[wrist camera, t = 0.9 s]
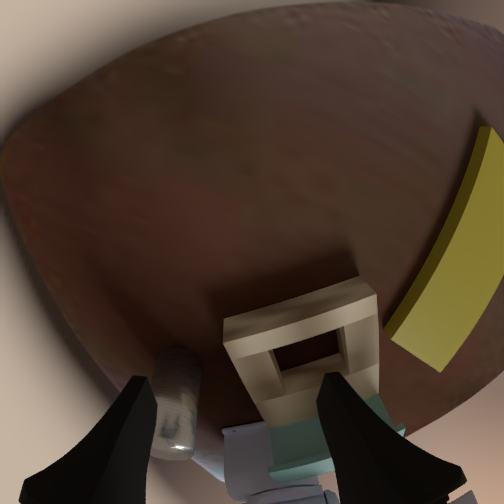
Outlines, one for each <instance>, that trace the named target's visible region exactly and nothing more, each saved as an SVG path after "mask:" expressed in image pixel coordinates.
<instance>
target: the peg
mask: <svg viewBox="0 0 504 504" xmlns="http://www.w3.org/2000/svg"><path fill="white" fill-rule="evenodd" d="M201 373H202V362H201V360H200V358H199V357H198V356H197V355H196V354H195V353H193V352H192V351H190V350H188V349H185V348H181V347H170V348H167V349H165V350H163V351H162V352H161V353H160V354H159V357H158V360H157V363H156V367H155V370H154V373H153V376H152V380H151V383H150V386H151V389H152V391H153V394H154V396H155V399H156V401H157V404H158V408H157V420H156V428H155V432H154V437H153V442H152V447H151V452H150V455H151V456H154V457H157V458H160V459H164V460H171V461H182V460H187V459H190V458H191V457H192V456H193V453H194V442H195V431H196V420H197V410H198V400H199V391H200V382H201Z"/></svg>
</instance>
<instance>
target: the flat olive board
mask: <svg viewBox="0 0 504 504" xmlns="http://www.w3.org/2000/svg"><path fill="white" fill-rule="evenodd" d="M503 275H504V143H503V142H502V140H501V139H500V138H499V136H498V135H497V133H496V132H495V131H494V129H493V128H492V127H485V126H480V128H479V131H478V135H477V139H476V142H475V145H474V149H473V152H472V155H471V158H470V161H469V164H468V167H467V170H466V173H465V176H464V178H463V181H462V184H461V186H460V189H459V191H458V194H457V196H456V199H455V201H454V204H453V206H452V208H451V211H450V213H449V215H448V217H447V219H446V222H445V224H444V226H443V228H442V230H441V232H440V234H439V236H438V238H437V240H436V242H435V244H434V246H433V248H432V250H431V252H430V254H429V256H428V258H427V260H426V261H425V263H424V265H423V267H422V269H421V270H420V272H419V274H418V276H417V277H416V279H415V281H414V282H413V284H412V286H411V287H410V289H409V291H408V292H407V294H406V295H405V297H404V299H403V300H402V302H401V303H400V305H399V306H398V308H397V310H396V311H395V313H394V314H393V315H392V317H391V318H390V320H389V321H388V323H387V324H386V326H385V327H384V331H385V332H386V333H387V335H388V336H389V337H390V339H391V340H393V341H394V342H396V343H397V344H399V345H400V346H402V347H403V348H405V349H406V350H408V351H409V352H411V353H412V354H414V355H415V356H416V357H418V358H419V359H421V360H422V361H424V362H425V363H427V364H428V365H430V366H431V367H433V368H434V369H436V370H437V371H439V372H441V371H442V370H443V369H444V367H445V366H446V365H447V364H448V362H449V361H450V360H451V358H452V357H453V356H454V355H455V353H456V352H457V351H458V349H459V348H460V346H461V345H462V344H463V342H464V341H465V339H466V338H467V336H468V335H469V334H470V332H471V331H472V329H473V328H474V326H475V324H476V323H477V321H478V320H479V318H480V317H481V315H482V313H483V312H484V310H485V308H486V307H487V305H488V303H489V301H490V300H491V298H492V296H493V294H494V292H495V291H496V289H497V287H498V285H499V283H500V281H501V279H502V277H503Z"/></svg>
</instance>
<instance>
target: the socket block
mask: <svg viewBox="0 0 504 504" xmlns="http://www.w3.org/2000/svg"><path fill="white" fill-rule="evenodd" d="M334 329H336V334H337V340H338V346H339V353H337V354H334V355H331V356H328V357H325V358H322V359H319V360H316V361H313V362H310V363H307V364H304V365H301V366H297V367H294V368H291V369H287V370H284V371H280V368H279V366H278V363H277V360H276V358H275V355H274V352H273V349H275V348H278V347H282V346H285V345H288V344H292V343H295V342H298V341H301V340H304V339H308V338H311V337H314V336H317V335H320V334H323V333H326V332H328V331H331V330H334ZM223 344H224V346H225V348H226V350H227V352H228V354H229V356H230V358H231V360H232V362H233V364H234V366H235V368H236V370H237V372H238V374H239V376H240V378H241V380H242V381H243V383H244V385H245V387H246V389H247V391H248V393H249V394H250V396H251V398H252V400H253V402H254V403H255V405H256V407H257V409H258V411H259V412H260V414H261V416H262V418H263V419H264V421H265V423H266V425H267V426H268V428H269V429H273V428H277V427H282V426H286V425H290V424H293V423H297V422H301V421H304V420H308V419H311V418H315V417H318V416H319V415H318V410H317V404H316V400H317V397H318V394H319V390H320V387H321V384H322V381H323V378H324V374H325V373H330V372H337V371H339V372H340V373H341V374H342V376H343V377H344V378H345V379H346V380H347V382H348V383H349V384H350V385H351V386H352V388H353V389H354V390H355V391H356V392H357V393H358V395H359V396H360V397H361V398H362V399H363V400H366V399H368V398H371V397H373V396H376V395H378V387H379V332H378V311H377V296H376V293H375V292H374V291H373V290H372V288H371V287H370V286H369V285H368V284H367V283H366V282H365V281H364V280H363V279H362V278H361V276H357V277H354V278H351V279H348V280H346V281H343V282H340V283H337V284H334V285H331V286H328V287H325V288H322V289H319V290H316V291H313V292H310V293H307V294H304V295H301V296H298V297H295V298H292V299H289V300H286V301H282V302H279V303H276V304H273V305H269V306H266V307H263V308H259V309H256V310H253V311H249V312H246V313H242V314H239V315H235V316H232V317H228V318H224V328H223Z"/></svg>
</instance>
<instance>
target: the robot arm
mask: <svg viewBox="0 0 504 504" xmlns="http://www.w3.org/2000/svg"><path fill="white" fill-rule="evenodd" d="M316 404H317V410H318V415H319V420H320V424H321V427H322V430H323V433H324V436H325V439H326V442H327V445H328V448H329V452H330V455H331V458H332V461H333V464H334V468H335V473H336V478H337V484H338V490H339V497H340V504H447V501H448V500H449V496H448V494H449V493H451V492H453V491H454V490H456V489H457V488H459V487H460V486H462V485H463V484H465V483H466V482H467V479H466V477H465V475H464V473H463V471H462V469H461V467H460V466H458V465H455V464H452V463H449V462H447V461H443V460H442V459H439V458H437V457H435V456H433V455H431V454H429V453H428V452H426V451H424V450H422V449H421V448H419V447H417V446H415V445H414V444H412V443H411V442H410V441H408V440H407V439H405V438H404V437H402V436H401V435H400V434H399V433H397V432H396V431H395V430H394V429H392V428H391V427H390V426H389V425H388V424H387V423H386V422H384V421H383V420H382V419H381V418H380V417H379V416H378V415H377V414H376V413H375V412H374V411H373V410H372V409H371V408H370V407H369V406H368V405H367V403H366V402H365V401H364V400H363V399H362V398H361V397H360V396H359V395H358V393H357V392H356V391H355V390H354V389H353V388H352V386H351V385H350V384H349V383H348V382H347V380H346V379H345V378H344V377H343V376H342V374H341V373H340V372H339V371H337V372H330V373H325V374H324V378H323V381H322V384H321V387H320V390H319V394H318V397H317V400H316ZM157 408H158V404H157V401H156V399H155V396H154V394H153V391H152V389H151V386H150V384H149V381H148V378H147V377H145V376H135V375H133V376H132V377H131V379H130V380H129V381H128V383H127V384H126V386H125V387H124V389H123V390H122V392H121V393H120V394H119V396H118V397H117V399H116V400H115V401H114V403H113V404H112V405H111V407H110V408H109V409H108V410H107V412H106V413H105V415H104V416H103V417H102V418H101V419H100V420H99V422H98V423H97V424H96V425H95V426H94V427H93V429H92V430H91V431H90V432H89V433H88V434H87V435H86V436H85V437H84V438H83V439H82V440H81V441H80V442H79V443H78V444H77V445H76V446H75V447H74V448H72V449H71V450H70V451H69V452H68V453H67V454H65V455H64V456H63V457H62V458H60V459H59V460H57V461H56V462H54V463H53V464H51V465H50V466H48V467H47V468H45V469H44V470H42V471H40V472H38V473H36V474H34V475H32V476H31V477H29V478H27V479H25V480H24V483H23V486H22V490H21V493H20V497H19V502H20V503H21V504H146V501H145V500H146V498H145V497H146V474H147V466H148V461H149V456H150V452H151V447H152V442H153V437H154V432H155V428H156V420H157ZM222 433H223V435H224V478H225V484H226V488H227V491H228V493H229V495H230V497H231V498H232V499H233V500H234V501H235V502H246V503H243V504H339V501H338V498H337V496H336V494H335V493H334V492H331V491H330V490H325V491H324V493H323V490H322V486H321V485H319V482H318V478H317V476H313V477H309V478H305V479H301V480H296V481H292V482H287V483H282V484H278V483H277V482H276V481H275V480H274V479H273V478H272V477H271V476H270V475H269V473H268V468H267V467H270V466H274V461H273V454H272V446H271V438H270V431H269V428H268V426H267V425H266V423H265V421H261V422H256V423H252V424H246V425H241V426H235V427H229V428H224V429H222ZM448 504H478V503H477V501H476V498H475V496H474V494H473V492H472V490H470V491H469V492H467V493H465V494H464V495H462V496H461V497H459V498H457V499H456V500H454V501H452V502H451V503H448Z"/></svg>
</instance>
